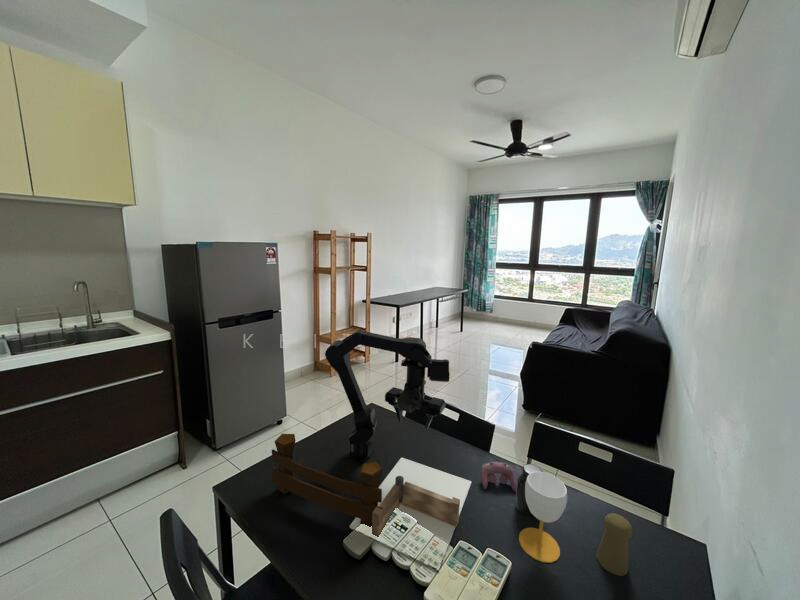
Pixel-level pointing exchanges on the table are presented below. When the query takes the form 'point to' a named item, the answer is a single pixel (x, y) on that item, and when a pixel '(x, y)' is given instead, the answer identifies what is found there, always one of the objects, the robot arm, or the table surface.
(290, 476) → the decorative fence
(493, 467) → the video game controller
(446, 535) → the card
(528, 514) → the supplement bottle
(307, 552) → the table surface
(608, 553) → the cork
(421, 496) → the fence panel
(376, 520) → the fence fixed section
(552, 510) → the cup
